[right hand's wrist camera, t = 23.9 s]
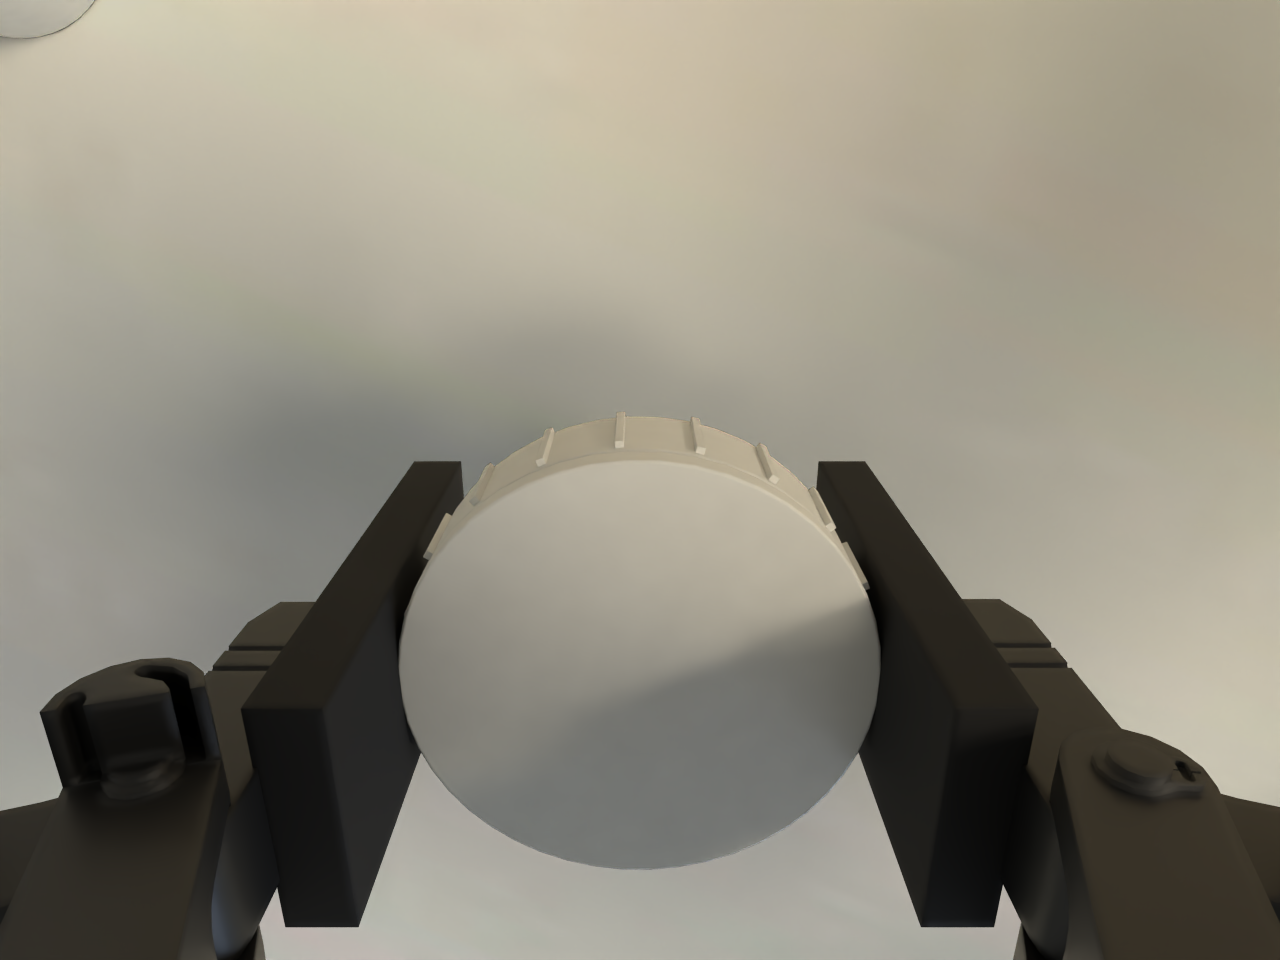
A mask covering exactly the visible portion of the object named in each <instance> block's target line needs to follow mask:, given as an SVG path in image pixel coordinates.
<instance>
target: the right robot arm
mask: <svg viewBox="0 0 1280 960" xmlns="http://www.w3.org/2000/svg"><path fill="white" fill-rule="evenodd" d="M816 490H817V491H818V493H819V495H820V497H821V499H822V501H823V503H824V505H825V507H826V509H827V510H828V512H829V514H830V516H831V518H832V520H833V522H834V524H835V526H836V529H834V530H835V532H836V533H837V535H838V537H839V539H840V541H841V543H845V542H847V543H848V545H849V547H850V549H851V551H852V553H853V555H854V556H855V558H856V560H857V562H858V564H859V566H860V568H861V570H862V572H863V574H864V576H865V578H866V580H867V582H868V584H869V587H870V589H868V590H865V591H866V593H867V595H868V598H869V601H870V604H871V607H872V610H873V613H874V616H875V619H876V623H877V629H878V635H879V640H880V646H881V669H880V679H879V687H878V695H877V703H876V708H875V711H874V715H873V718H872V721H871V725H870V728H869V730H868V732H867V734H866V737H865V739H864V741H863V743H862V745H861V747H860V750H859V755H860V758H861V761H862V763H863V766H864V769H865V772H866V775H867V777H868V780H869V783H870V786H871V789H872V791H873V794H874V797H875V800H876V803H877V805H878V808H879V811H880V814H881V817H882V819H883V822H884V825H885V828H886V831H887V833H888V836H889V839H890V842H891V844H892V847H893V850H894V853H895V856H896V858H897V861H898V864H899V867H900V870H901V872H902V875H903V878H904V881H905V884H906V886H907V889H908V892H909V895H910V898H911V900H912V903H913V906H914V909H915V912H916V914H917V917H918V920H919V923H920V926H921V927H994V925H995V920H996V915H997V910H998V905H999V900H1000V896H1001V891H1002V886H1003V885H1004V887H1005V889H1006V891H1007V893H1008V895H1009V897H1010V899H1011V901H1012V904H1013V906H1014V908H1015V910H1016V912H1017V914H1018V916H1019V918H1020V920H1021V926H1020V931H1019V935H1018V940H1017V944H1016V949H1015V953H1014V958H1013V960H1280V807H1276V806H1271V805H1267V804H1262V803H1257V802H1252V801H1248V800H1243V799H1238V798H1234V797H1231V796H1227V795H1223V794H1220V791H1219V789H1218V787H1217V786H1216V784H1215V783H1214V782H1213V780H1212V779H1211V778H1210V776H1209V775H1208V774H1207V772H1206V771H1205V770H1204V768H1203V767H1202V766H1200V765H1199V764H1198V763H1196V762H1195V761H1194V760H1192V759H1191V758H1189V757H1188V756H1187V755H1185V754H1184V753H1183V752H1181V751H1180V750H1178V749H1176V748H1174V747H1172V746H1170V745H1168V744H1166V743H1163V742H1161V741H1159V740H1157V739H1155V738H1153V737H1150V736H1147V735H1143V734H1139V733H1135V732H1132V731H1128V730H1124V729H1121V728H1120V727H1119V725H1118V724H1117V723H1116V722H1115V720H1114V719H1113V718H1112V717H1111V716H1110V714H1109V713H1108V712H1107V711H1106V710H1105V708H1104V707H1103V706H1102V705H1101V703H1100V702H1099V701H1098V700H1097V699H1096V697H1095V696H1094V695H1093V694H1092V692H1091V691H1090V690H1089V689H1088V688H1087V686H1086V685H1085V684H1084V683H1083V681H1082V680H1081V679H1080V678H1079V677H1078V675H1077V674H1076V673H1075V672H1074V670H1073V669H1072V668H1068V667H1067V662H1066V661H1065V659H1064V658H1063V657H1062V656H1061V655H1060V653H1059V652H1058V651H1057V650H1056V649H1055V648H1051V642H1050V641H1049V640H1048V639H1047V638H1046V636H1045V635H1044V634H1043V633H1042V631H1041V630H1040V629H1039V628H1038V627H1037V625H1036V624H1035V623H1034V622H1033V620H1032V619H1030V618H1029V617H1027V616H1025V615H1024V614H1022V613H1021V612H1019V611H1017V610H1016V609H1014V608H1013V607H1011V606H1009V605H1008V604H1006V603H1005V602H1003V601H1001V600H1000V599H961V597H960V596H959V594H958V593H957V592H956V590H955V589H954V587H953V586H952V584H951V583H950V582H949V580H948V579H947V577H946V576H945V574H944V573H943V572H942V570H941V569H940V567H939V566H938V565H937V563H936V562H935V560H934V559H933V557H932V556H931V555H930V553H929V552H928V550H927V549H926V547H925V546H924V545H923V543H922V542H921V540H920V539H919V538H918V536H917V535H916V533H915V532H914V530H913V529H912V528H911V526H910V525H909V523H908V522H907V520H906V519H905V518H904V516H903V515H902V513H901V512H900V511H899V509H898V508H897V506H896V505H895V503H894V502H893V501H892V499H891V498H890V496H889V495H888V493H887V492H886V491H885V489H884V488H883V486H882V485H881V484H880V482H879V481H878V479H877V478H876V476H875V475H874V474H873V472H872V471H871V469H870V468H869V466H868V465H867V464H866V462H865V461H819V463H818V475H817V488H816ZM463 499H464V494H463V482H462V470H461V461H414V463H413V464H412V466H411V467H410V469H409V470H408V471H407V473H406V474H405V476H404V477H403V478H402V480H401V481H400V483H399V484H398V486H397V487H396V488H395V490H394V491H393V493H392V494H391V496H390V497H389V498H388V500H387V501H386V503H385V504H384V505H383V507H382V508H381V510H380V511H379V513H378V514H377V515H376V517H375V518H374V520H373V521H372V523H371V524H370V525H369V527H368V528H367V530H366V531H365V532H364V534H363V535H362V537H361V538H360V540H359V541H358V542H357V544H356V545H355V547H354V548H353V550H352V551H351V552H350V554H349V555H348V557H347V558H346V559H345V561H344V562H343V564H342V565H341V567H340V568H339V569H338V571H337V572H336V574H335V575H334V577H333V578H332V579H331V581H330V582H329V584H328V585H327V586H326V588H325V589H324V591H323V592H322V594H321V595H320V596H319V598H318V599H317V601H316V602H280V603H278V604H276V605H275V606H273V607H272V608H270V609H269V610H267V611H265V612H264V613H262V614H261V615H259V616H258V617H256V618H254V619H253V620H251V621H250V622H248V623H247V625H246V626H245V627H244V628H243V629H242V631H241V632H240V633H239V634H238V636H237V637H236V638H235V639H234V640H233V642H232V643H231V644H230V645H229V651H225V652H224V653H223V654H222V655H221V656H220V658H219V659H218V660H217V661H216V663H215V664H214V665H213V670H212V671H208V672H207V674H206V675H205V676H204V673H203V671H202V670H200V669H199V668H198V667H196V666H195V665H194V664H192V663H191V662H187V661H182V660H177V659H172V658H156V659H140V660H136V661H131V662H127V663H123V664H119V665H114V666H110V667H108V668H105V669H103V670H100V671H98V672H95V673H93V674H91V675H88V676H86V677H83V678H81V679H79V680H77V681H76V682H74V683H73V684H71V685H70V686H68V687H66V688H65V689H63V690H62V691H60V692H59V693H57V694H56V695H55V696H54V697H53V698H52V699H51V700H50V701H49V702H48V703H47V705H46V706H45V707H44V708H43V709H42V710H41V711H40V715H41V718H42V722H43V725H44V728H45V731H46V735H47V738H48V741H49V744H50V747H51V751H52V754H53V757H54V760H55V764H56V767H57V770H58V773H59V776H60V780H61V783H62V786H63V789H62V791H61V793H60V795H59V797H58V798H56V799H52V800H48V801H45V802H41V803H36V804H31V805H26V806H22V807H17V808H12V809H8V810H3V811H0V960H266V959H265V952H264V945H263V940H262V935H261V931H260V926H259V923H260V921H261V919H262V917H263V915H264V913H265V911H266V909H267V907H268V905H269V903H270V901H271V899H272V897H273V894H274V892H275V890H276V888H277V889H278V893H279V898H280V903H281V908H282V913H283V918H284V923H285V927H359V924H360V921H361V918H362V916H363V913H364V910H365V907H366V904H367V902H368V899H369V896H370V893H371V891H372V888H373V885H374V882H375V879H376V877H377V874H378V871H379V868H380V865H381V863H382V860H383V857H384V854H385V851H386V849H387V846H388V843H389V840H390V837H391V835H392V832H393V829H394V826H395V823H396V821H397V818H398V815H399V812H400V809H401V807H402V804H403V801H404V798H405V795H406V793H407V790H408V787H409V784H410V782H411V779H412V776H413V773H414V770H415V768H416V765H417V762H418V759H419V756H420V754H421V751H420V749H419V748H418V746H417V743H416V741H415V739H414V736H413V734H412V732H411V729H410V727H409V725H408V722H407V718H406V715H405V711H404V707H403V700H402V692H401V684H400V676H399V667H398V652H399V639H400V635H401V630H402V625H403V620H404V613H405V611H406V609H407V607H408V605H409V602H410V599H411V597H412V594H413V591H414V589H415V587H416V585H417V583H418V581H419V579H420V577H421V575H422V573H423V571H424V569H425V567H426V565H427V563H428V561H429V560H428V559H426V558H424V557H423V556H424V554H425V552H426V550H427V548H428V546H429V544H430V543H431V541H432V539H433V537H434V535H435V533H436V531H437V529H438V527H439V525H440V523H441V521H442V520H443V518H444V516H445V514H446V513H448V514H449V515H451V516H452V515H453V513H454V512H455V510H456V508H457V507H458V506H459V504H460V503H461V502H462V500H463Z"/></svg>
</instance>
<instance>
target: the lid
mask: <svg viewBox="0 0 1280 960" xmlns="http://www.w3.org/2000/svg"><path fill="white" fill-rule="evenodd" d="M834 529H836V526H835V524H834V522H833V520H832V518H831V516H830V514H829V512H828V510H827V509H826V507H825V505H824V503H823V501H822V499H821V497H820V495H819V493H818V491H817V490H816V489H815V488H814V487H812V488H811V489H809V490H808V489H807V488H806V487H805V486H804V485H803V484H802V483H801V482H800V481H799V480H798V479H797V478H796V476H795V475H794V474H793V473H792V472H790V471H789V470H788V469H787V468H785V467H784V466H783V465H781V464H780V463H779V462H778V461H776V460H775V459H774V458H772V457H771V456H770V454H769V452H768V450H767V447H766V446H764V445H763V444H761V443H759V444H758V446H757V447H755V446H753V445H751V444H750V443H748V442H746V441H744V440H742V439H740V438H737V437H735V436H732V435H730V434H728V433H725V432H723V431H720V430H718V429H715V428H711V427H708V426H704V425H701V424H700V419H699V418H695V417H691V420H690V422H689V421H683V420H676V419H669V418H662V417H626V415H625V412H617V415H616V418H610V419H601V420H595V421H591V422H587V423H583V424H579V425H575V426H571V427H567V428H564V429H562V430H559V431H557V432H554V429H553V428H552V427H551V428H549V429H546V430H545V432H544V435H543V437H541V438H539V439H537V440H535V441H534V442H532V443H530V444H528V445H526V446H524V447H523V448H521V449H519V450H517V451H515V452H514V453H512V454H511V455H510V456H508V457H507V458H506V459H504V460H503V461H502V462H500V463H499V464H497V465H496V466H495V467H494V466H493V465H492V464H491V463H489V464H488V465H487V466H486V467H485V468H484V470H483V472H482V474H481V477H480V479H479V481H478V483H477V484H476V485H475V486H473V487H472V489H471V490H470V491H469V493H468V494H467V495H466V497H465V498H464V499H463V500H462V502H461V503H460V504H459V506H458V507H457V508H456V510H455V512H454V513H453V515H452V516H451V515H449V514H448V513H446V514H445V516H444V518H443V520H442V521H441V523H440V525H439V527H438V529H437V531H436V533H435V535H434V537H433V539H432V541H431V543H430V544H429V546H428V548H427V550H426V552H425V554H424V556H423V557H424V558H426V559H428V560H429V561H428V563H427V565H426V567H425V569H424V571H423V573H422V575H421V577H420V579H419V581H418V583H417V585H416V587H415V589H414V591H413V594H412V597H411V599H410V602H409V605H408V607H407V609H406V611H405V613H404V620H403V625H402V630H401V635H400V639H399V652H398V667H399V676H400V684H401V692H402V700H403V707H404V711H405V715H406V718H407V722H408V725H409V727H410V729H411V732H412V734H413V736H414V739H415V741H416V743H417V746H418V748H419V749H420V751H421V753H422V754H423V756H424V758H425V759H426V761H427V763H428V764H429V766H430V768H431V769H432V771H433V772H434V773H435V774H436V776H437V777H438V778H439V779H440V781H441V782H442V783H443V784H444V786H445V787H446V788H447V789H448V791H449V792H451V793H452V794H453V795H454V796H455V797H456V798H457V799H458V800H459V801H460V802H461V803H462V804H463V805H464V806H465V807H466V808H467V809H468V810H469V811H471V812H472V813H473V814H475V815H476V816H477V817H479V818H480V819H481V820H483V821H484V822H485V823H487V824H488V825H489V826H491V827H493V828H494V829H496V830H498V831H499V832H501V833H503V834H505V835H506V836H508V837H510V838H511V839H513V840H515V841H517V842H519V843H522V844H524V845H526V846H528V847H531V848H533V849H535V850H537V851H540V852H543V853H546V854H549V855H552V856H555V857H558V858H561V859H564V860H568V861H572V862H577V863H582V864H586V865H591V866H597V867H606V868H615V869H644V870H652V869H663V868H674V867H682V866H687V865H692V864H697V863H703V862H708V861H711V860H714V859H717V858H721V857H724V856H727V855H731V854H734V853H736V852H739V851H741V850H744V849H746V848H748V847H751V846H753V845H755V844H758V843H760V842H762V841H764V840H765V839H767V838H769V837H771V836H773V835H774V834H776V833H778V832H780V831H782V830H783V829H785V828H786V827H788V826H789V825H791V824H792V823H793V822H795V821H796V820H798V819H799V818H800V817H802V816H803V815H805V814H806V813H807V812H808V811H809V810H810V809H812V808H813V807H814V806H815V805H816V804H817V803H818V802H819V801H820V800H821V799H822V798H824V797H825V796H826V795H827V794H828V792H829V791H830V790H831V789H832V788H833V787H834V785H835V784H836V783H837V782H838V781H839V780H840V778H841V777H842V776H843V775H844V773H845V772H846V770H847V769H848V767H849V766H850V764H851V763H852V761H853V759H854V758H855V756H856V755H857V753H858V752H859V750H860V747H861V745H862V743H863V741H864V739H865V737H866V734H867V732H868V730H869V728H870V725H871V721H872V718H873V715H874V711H875V708H876V703H877V695H878V687H879V679H880V669H881V646H880V640H879V635H878V629H877V623H876V619H875V616H874V613H873V610H872V607H871V604H870V601H869V598H868V595H867V593H866V591H865V590H868V589H870V587H869V584H868V582H867V580H866V578H865V576H864V574H863V572H862V570H861V568H860V566H859V564H858V562H857V560H856V558H855V556H854V555H853V553H852V551H851V549H850V547H849V545H848V543H847V542H845V543H841V541H840V539H839V537H838V535H837V533H836V532H835V530H834Z"/></svg>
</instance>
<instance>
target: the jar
mask: <svg viewBox="0 0 1280 960" xmlns="http://www.w3.org/2000/svg"><path fill="white" fill-rule="evenodd" d="M93 2H94V0H0V36H4V37H10V38H32V37H40V36H44V35H47V34H51V33H54V32H56V31H59V30H61V29H63V28H65V27H67V26H68V25H70V24H71V23H73V22H74V21H75V20H77V19H78V18H79V17H80V16H81V15H82V14H83V13H84V12H85V11H86V10H87V9H88V8H89V7H90V6H91V4H92V3H93Z"/></svg>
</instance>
